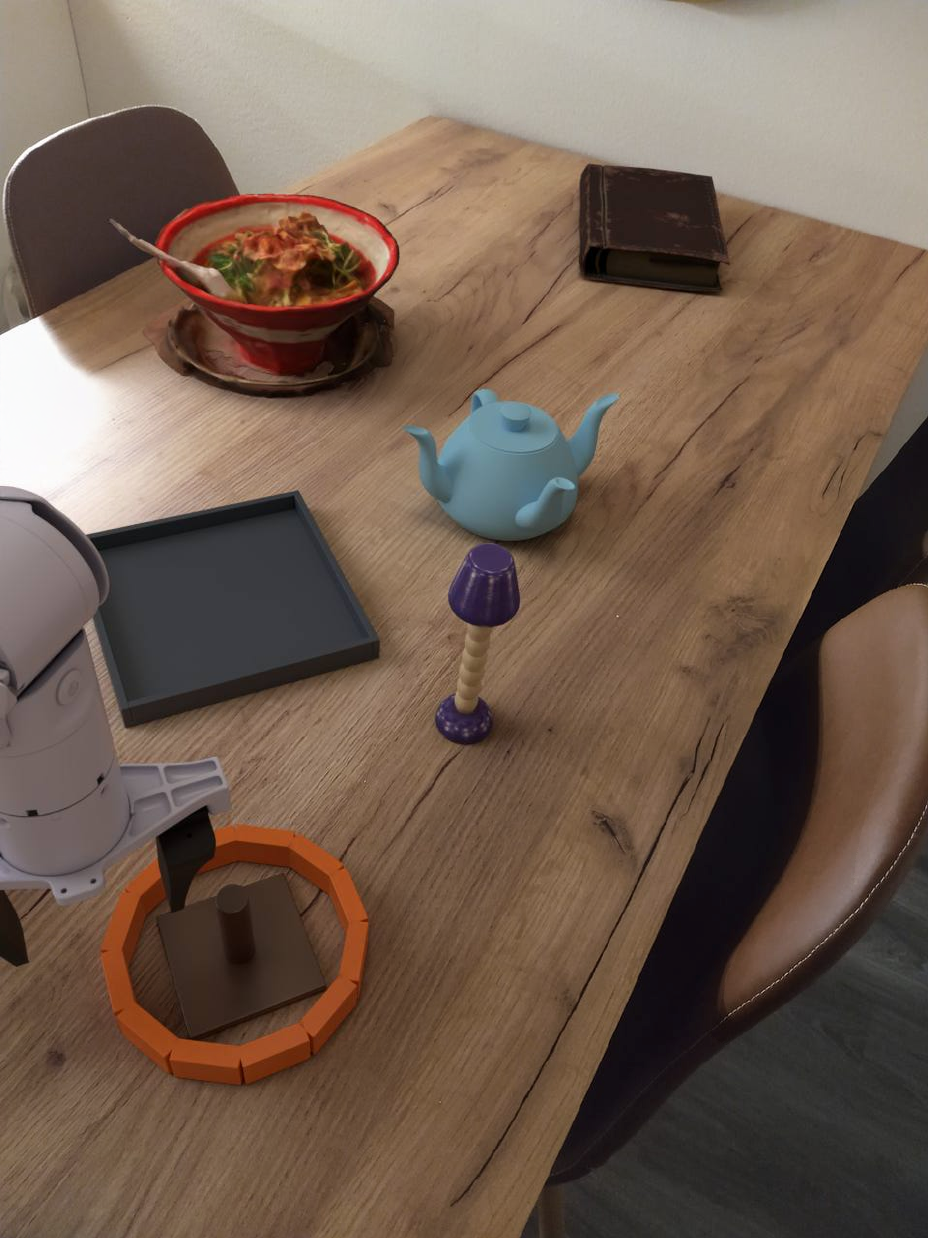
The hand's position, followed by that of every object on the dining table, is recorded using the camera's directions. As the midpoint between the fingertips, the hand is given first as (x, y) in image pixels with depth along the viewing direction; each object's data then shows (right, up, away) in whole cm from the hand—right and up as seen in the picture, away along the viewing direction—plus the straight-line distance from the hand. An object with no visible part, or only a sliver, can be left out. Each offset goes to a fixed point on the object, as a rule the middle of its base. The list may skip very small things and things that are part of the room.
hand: (98, 920), depth 52 cm
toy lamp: (+19, +8, +23) cm, 30 cm away
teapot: (+23, +25, +40) cm, 53 cm away
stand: (+5, -5, +9) cm, 11 cm away
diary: (+43, +65, +82) cm, 113 cm away
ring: (+5, -5, +9) cm, 11 cm away
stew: (-2, +43, +56) cm, 71 cm away
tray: (-1, +17, +29) cm, 33 cm away
